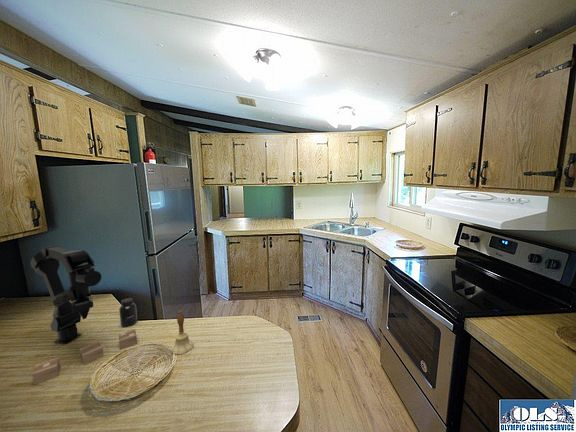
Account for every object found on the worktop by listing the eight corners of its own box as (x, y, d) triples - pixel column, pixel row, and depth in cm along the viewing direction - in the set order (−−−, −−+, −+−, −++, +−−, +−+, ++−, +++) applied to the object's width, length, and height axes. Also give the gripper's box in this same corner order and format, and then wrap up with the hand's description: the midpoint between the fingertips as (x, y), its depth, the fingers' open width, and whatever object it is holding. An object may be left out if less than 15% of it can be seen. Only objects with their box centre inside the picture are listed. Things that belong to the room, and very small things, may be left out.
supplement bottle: (129, 328, 114) (126, 304, 113) (117, 326, 116) (114, 303, 114) (141, 320, 121) (138, 297, 120) (129, 318, 123) (126, 296, 121)
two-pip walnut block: (119, 342, 104) (118, 333, 104) (136, 337, 108) (135, 328, 107) (120, 350, 99) (118, 340, 99) (137, 344, 103) (136, 335, 102)
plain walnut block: (81, 358, 95) (79, 348, 95) (99, 350, 100) (98, 341, 99) (84, 365, 91) (82, 355, 91) (103, 356, 96) (102, 347, 95)
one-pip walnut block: (38, 374, 87) (36, 364, 87) (60, 366, 91) (58, 356, 90) (34, 385, 83) (32, 374, 82) (58, 376, 86) (56, 365, 86)
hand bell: (182, 339, 104) (179, 304, 102) (198, 343, 101) (194, 307, 99) (166, 352, 97) (162, 314, 95) (182, 356, 94) (179, 318, 92)
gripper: (52, 281, 99) (58, 317, 101) (50, 296, 85) (57, 337, 87) (87, 274, 106) (92, 307, 108) (90, 286, 93) (96, 324, 95)
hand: (84, 318), depth 100 cm, fingers closed
